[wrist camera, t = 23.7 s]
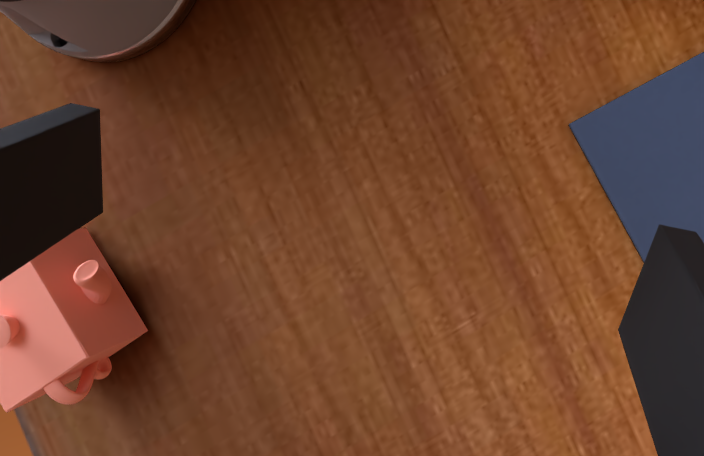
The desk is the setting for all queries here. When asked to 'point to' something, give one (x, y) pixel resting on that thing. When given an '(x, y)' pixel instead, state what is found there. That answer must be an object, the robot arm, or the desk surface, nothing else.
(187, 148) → the desk surface
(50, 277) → the teapot
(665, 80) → the notebook
